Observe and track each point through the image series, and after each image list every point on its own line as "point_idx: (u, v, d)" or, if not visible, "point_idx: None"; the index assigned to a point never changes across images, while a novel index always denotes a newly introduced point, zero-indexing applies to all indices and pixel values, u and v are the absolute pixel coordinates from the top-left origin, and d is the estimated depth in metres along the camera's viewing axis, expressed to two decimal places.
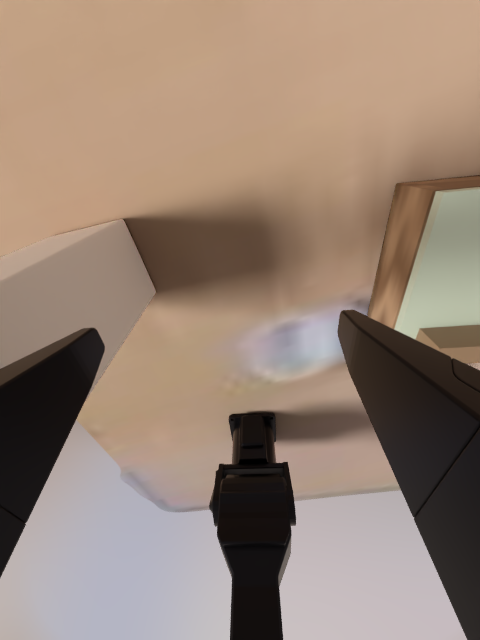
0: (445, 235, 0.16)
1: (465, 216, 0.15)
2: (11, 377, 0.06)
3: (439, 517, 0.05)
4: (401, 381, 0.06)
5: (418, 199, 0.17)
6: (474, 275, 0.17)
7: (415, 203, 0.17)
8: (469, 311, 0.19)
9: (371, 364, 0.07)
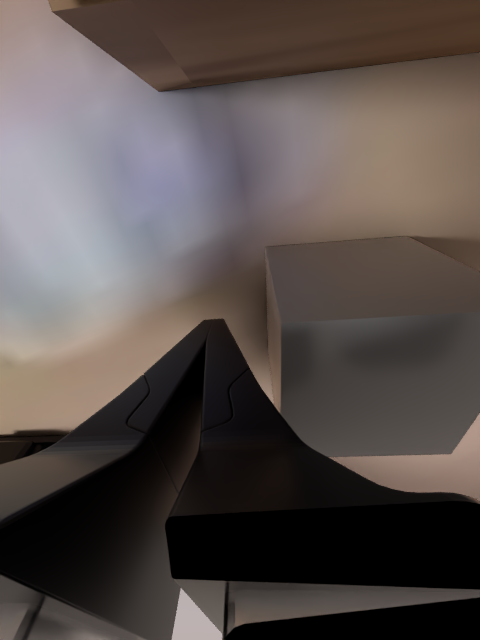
0: None
1: None
2: (182, 368, 0.06)
3: (221, 520, 0.05)
4: None
5: None
6: None
7: None
8: None
9: None
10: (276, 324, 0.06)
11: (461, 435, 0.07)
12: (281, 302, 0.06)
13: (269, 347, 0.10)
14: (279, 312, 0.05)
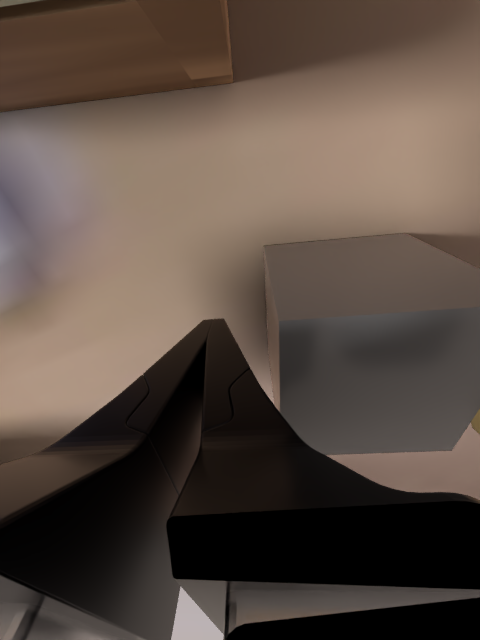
0: None
1: None
2: (182, 368, 0.06)
3: (222, 520, 0.05)
4: None
5: None
6: None
7: None
8: None
9: None
10: (274, 322, 0.06)
11: (460, 431, 0.07)
12: (279, 300, 0.06)
13: (269, 346, 0.10)
14: (277, 310, 0.05)
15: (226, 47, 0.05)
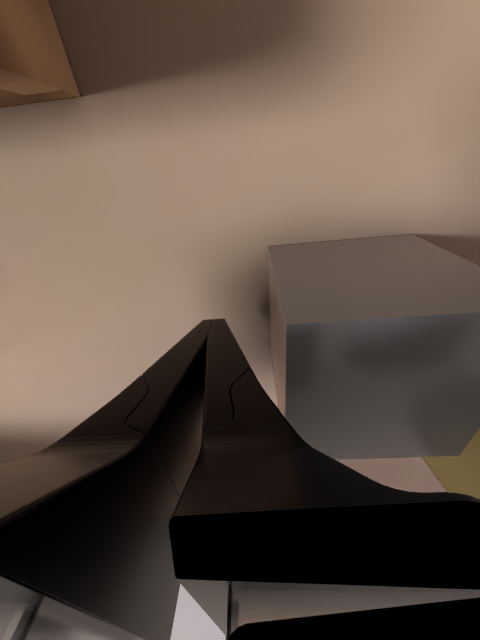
0: None
1: None
2: (181, 368, 0.06)
3: (223, 520, 0.05)
4: None
5: None
6: None
7: None
8: None
9: None
10: (280, 325, 0.06)
11: (469, 437, 0.07)
12: (285, 303, 0.06)
13: (272, 348, 0.10)
14: (283, 313, 0.05)
15: (2, 68, 0.05)
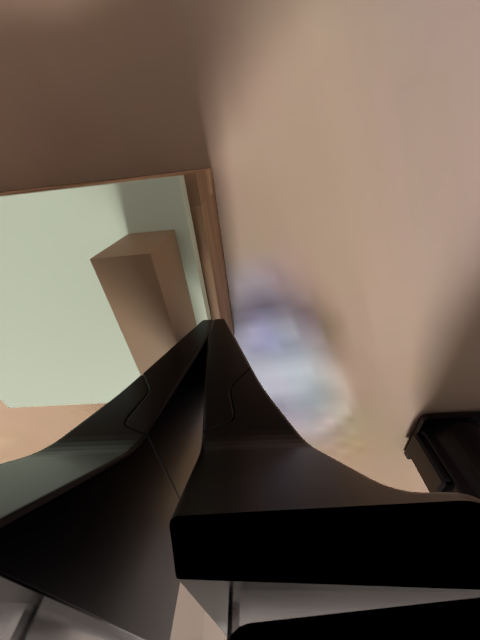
0: (42, 393, 0.13)
1: (14, 383, 0.13)
2: (181, 368, 0.06)
3: (223, 520, 0.05)
4: None
5: None
6: (70, 346, 0.11)
7: None
8: None
9: None
10: None
11: None
12: None
13: None
14: None
15: (204, 171, 0.10)
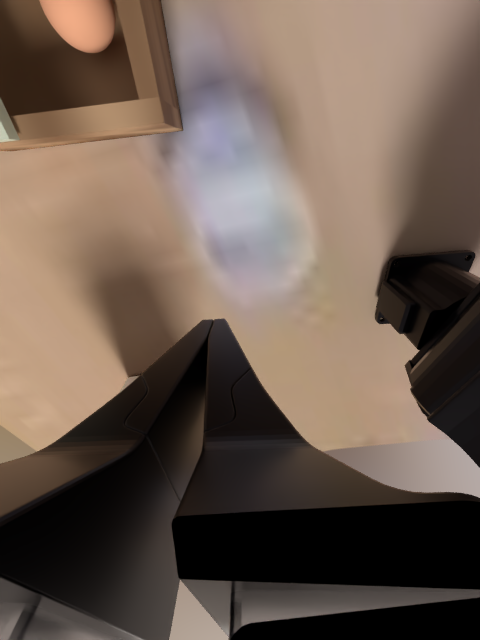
0: None
1: None
2: (180, 368, 0.06)
3: (224, 520, 0.05)
4: None
5: None
6: None
7: None
8: None
9: None
10: None
11: None
12: None
13: None
14: None
15: None
